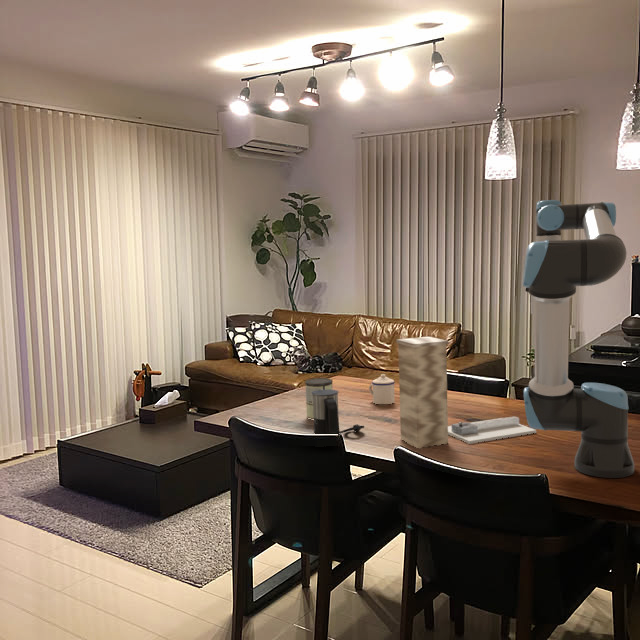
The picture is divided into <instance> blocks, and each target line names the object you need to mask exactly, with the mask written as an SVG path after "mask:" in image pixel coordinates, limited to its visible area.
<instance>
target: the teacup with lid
mask: <svg viewBox="0 0 640 640" xmlns="http://www.w3.org/2000/svg"><path fill="white" fill-rule="evenodd" d="M368 390H369V394H370V395H371V396H372V403H373V404H374V403H375V404H374V405H376V404H391V405H393V404H392V403H394V404H395V399H396V398H395V380H394V379H392V378H390V377H388V376H387V375H386V374H385V373H382V374H380V376H378V377H377V378H376V379H373V380H372V382H371V384H369V386H368Z"/></svg>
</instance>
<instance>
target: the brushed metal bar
mask: <svg viewBox="0 0 640 640" xmlns="http://www.w3.org/2000/svg"><path fill="white" fill-rule="evenodd" d="M500 418H501V419H498V418H493V419H494V420H492V419H487V420H488V421H485V420H480V421H481V422H479V421H474V422H475V423H472V422H469V421H465V422H463V421H459V422H457V423H452V424H451V426H452V432H454V433H457V434H459V435H461V436H464V435H470V434H476V433H478V431H484V430H490V429H496V428H502V427H509V426H515V425H519V424H520V417H518V416H514V415H513V416H509V417H507V416H506V417H500Z"/></svg>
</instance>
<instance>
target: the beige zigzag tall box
mask: <svg viewBox="0 0 640 640" xmlns="http://www.w3.org/2000/svg"><path fill="white" fill-rule="evenodd" d="M395 343H396V344H398V346H397V348H398V377H399V378H398V381H399V382H398V384H399V386H398V387H399V414H400V415H399V417H400V418H399V421H400V424H399V425H400V440H401V439H403V440H404V441H405V442H404V441H403V442H404V443H406V442H407V443H406V444H408V445H410V446H411V447H413V446H414V448H415V447H416V448H415V449H417V448H419V449H423V448H422V447H425V448H429V447H428V446H431V447H435V446H434V445H437V446H442V445H441V444H444V445H448V444H449V435H448V426H449V422H448V421H449V419H448V417H449V416H448V415H449V414H448V369H447V368H448V363H447V362H448V361H447V360H448V359H447V345H449V343H450V341H449V340H447V339H442V338H436V337H434V336H421V337H418V336H417V337H409V338H400V339H395ZM447 443H448V444H447Z"/></svg>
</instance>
